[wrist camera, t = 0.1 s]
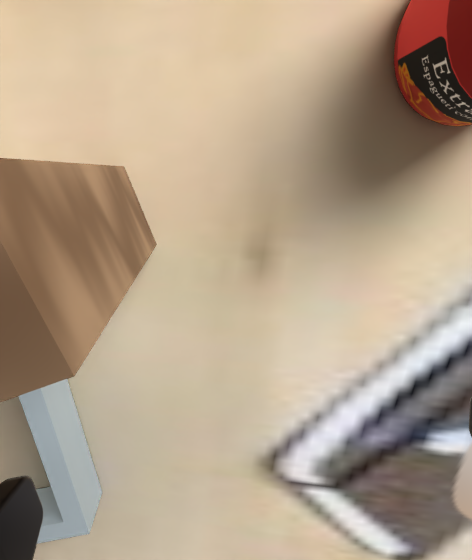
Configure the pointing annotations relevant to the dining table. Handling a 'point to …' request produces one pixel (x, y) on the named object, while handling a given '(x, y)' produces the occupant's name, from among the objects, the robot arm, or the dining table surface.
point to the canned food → (436, 59)
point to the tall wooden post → (62, 265)
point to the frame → (62, 462)
